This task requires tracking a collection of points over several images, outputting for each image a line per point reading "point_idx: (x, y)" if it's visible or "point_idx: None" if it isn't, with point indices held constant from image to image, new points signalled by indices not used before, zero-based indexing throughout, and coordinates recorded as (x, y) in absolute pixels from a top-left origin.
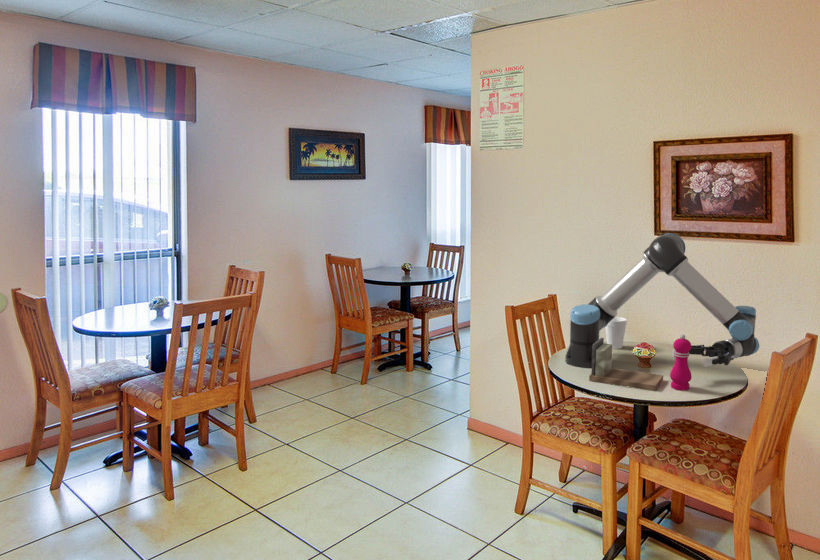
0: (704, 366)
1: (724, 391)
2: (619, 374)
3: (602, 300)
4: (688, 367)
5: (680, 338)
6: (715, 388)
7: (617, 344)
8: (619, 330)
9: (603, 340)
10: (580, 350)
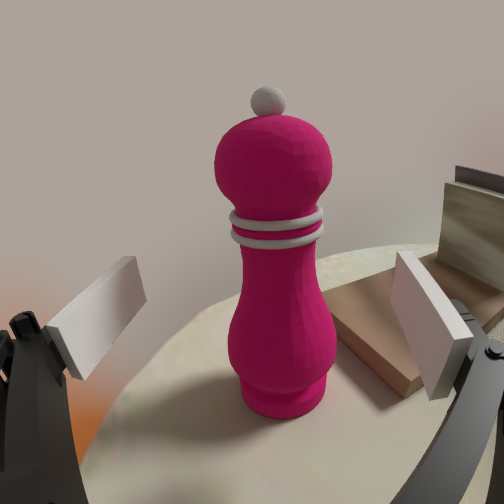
0: (143, 301)
1: (102, 471)
2: (450, 284)
3: None
4: (239, 305)
5: (287, 116)
6: (151, 490)
7: None
8: None
9: None
10: None
